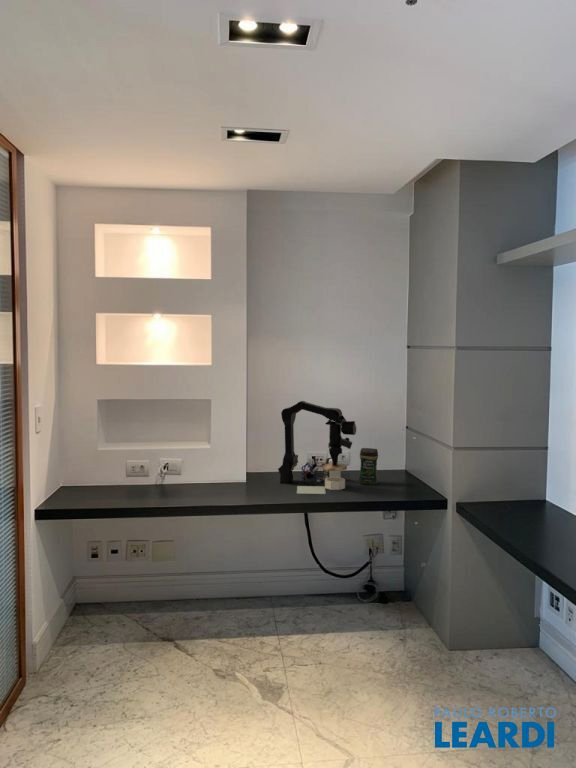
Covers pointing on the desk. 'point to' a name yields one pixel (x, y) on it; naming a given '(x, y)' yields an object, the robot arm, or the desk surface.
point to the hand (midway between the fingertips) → (334, 464)
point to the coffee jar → (368, 466)
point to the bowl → (335, 483)
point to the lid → (335, 466)
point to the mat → (311, 490)
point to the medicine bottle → (330, 473)
